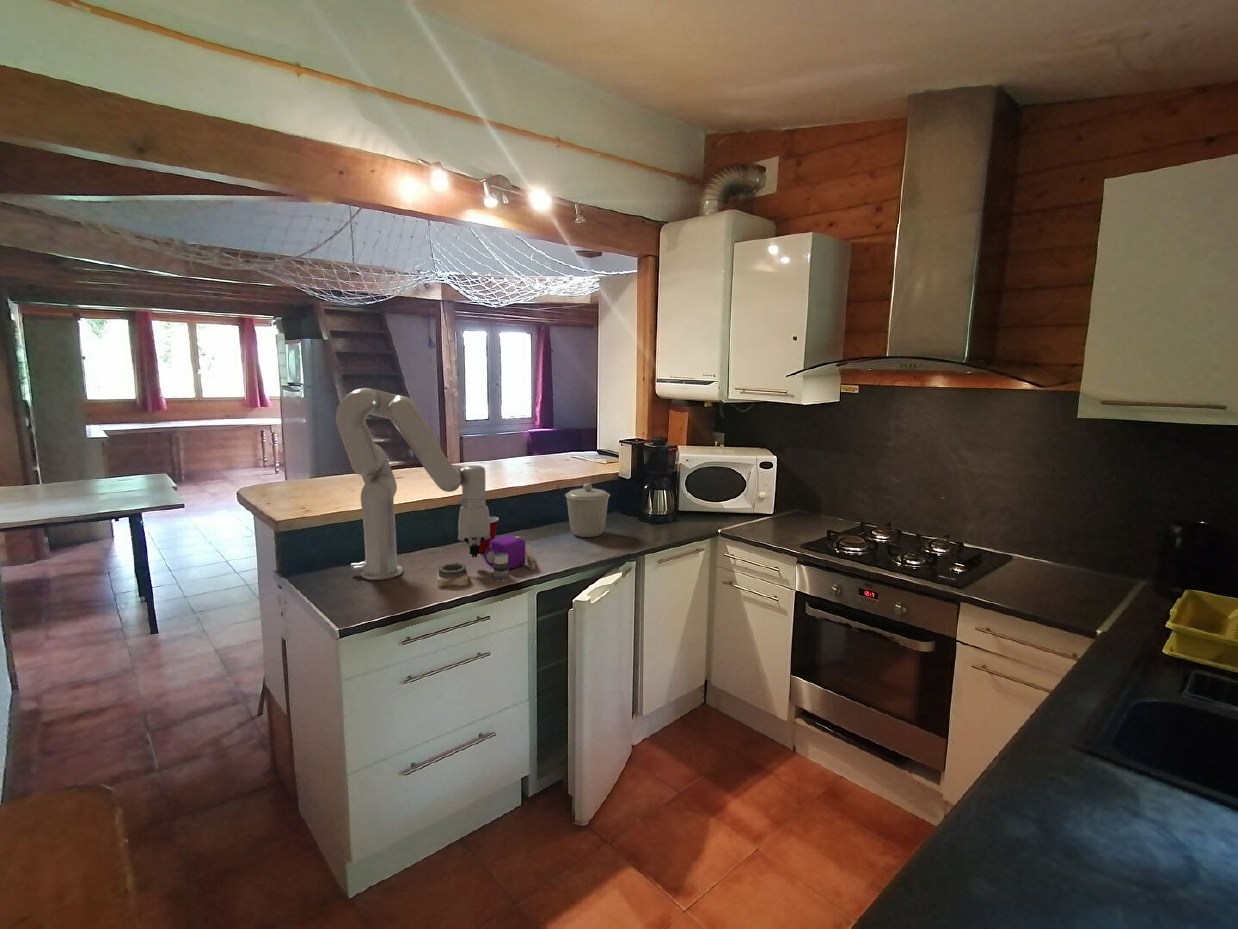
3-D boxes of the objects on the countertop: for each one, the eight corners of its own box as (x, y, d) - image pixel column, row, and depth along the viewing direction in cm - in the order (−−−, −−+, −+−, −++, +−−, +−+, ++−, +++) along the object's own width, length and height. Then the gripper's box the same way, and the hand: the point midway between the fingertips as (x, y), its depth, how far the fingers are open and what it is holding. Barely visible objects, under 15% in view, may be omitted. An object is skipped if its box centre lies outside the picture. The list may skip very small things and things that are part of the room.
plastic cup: (484, 544, 232) (483, 513, 230) (505, 549, 226) (505, 517, 224) (463, 551, 223) (462, 519, 221) (484, 556, 217) (483, 524, 215)
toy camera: (479, 570, 203) (478, 541, 201) (503, 558, 215) (502, 531, 214) (505, 575, 199) (505, 545, 197) (529, 563, 211) (528, 535, 209)
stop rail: (530, 570, 203) (530, 560, 203) (525, 557, 217) (524, 548, 216) (535, 570, 204) (535, 560, 203) (529, 557, 217) (529, 548, 216)
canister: (596, 526, 260) (596, 478, 257) (617, 536, 245) (618, 485, 241) (557, 531, 251) (557, 481, 247) (577, 542, 236) (578, 489, 232)
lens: (494, 581, 192) (493, 557, 191) (493, 576, 197) (492, 552, 195) (509, 580, 194) (509, 556, 192) (508, 575, 198) (507, 551, 197)
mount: (438, 587, 187) (437, 573, 186) (438, 577, 195) (437, 564, 195) (468, 584, 189) (467, 570, 189) (466, 575, 198) (466, 561, 197)
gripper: (450, 506, 196) (451, 561, 199) (497, 504, 200) (498, 558, 203) (450, 501, 203) (451, 554, 206) (495, 499, 207) (495, 551, 210)
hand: (474, 556), depth 204 cm, fingers closed
